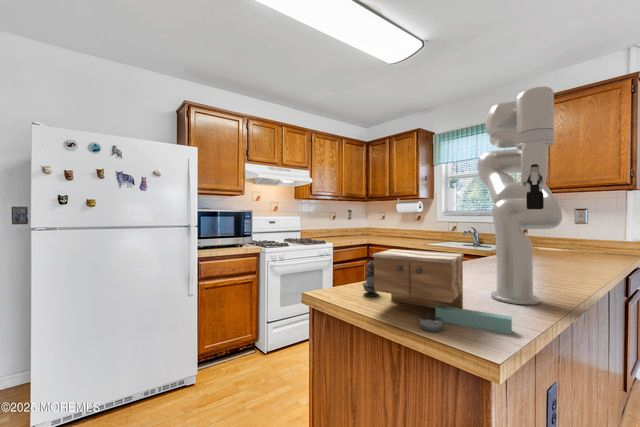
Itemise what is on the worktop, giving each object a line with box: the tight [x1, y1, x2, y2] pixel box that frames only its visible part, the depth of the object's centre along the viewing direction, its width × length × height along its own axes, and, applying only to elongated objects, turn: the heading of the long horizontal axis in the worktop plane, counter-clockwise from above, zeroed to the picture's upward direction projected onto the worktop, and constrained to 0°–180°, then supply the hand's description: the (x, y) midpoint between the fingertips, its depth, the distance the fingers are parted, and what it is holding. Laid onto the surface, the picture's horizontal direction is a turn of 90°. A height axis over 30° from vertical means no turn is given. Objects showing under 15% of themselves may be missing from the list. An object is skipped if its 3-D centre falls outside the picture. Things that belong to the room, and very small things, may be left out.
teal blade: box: [434, 305, 513, 335], centre depth 70 cm, size 2×16×4 cm, turn 56°
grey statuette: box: [362, 259, 380, 298], centre depth 98 cm, size 6×6×12 cm
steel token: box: [419, 314, 444, 334], centre depth 68 cm, size 5×5×2 cm
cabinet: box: [372, 248, 465, 309], centre depth 81 cm, size 15×21×16 cm
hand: (535, 209), depth 73 cm, fingers open, 9 cm apart
